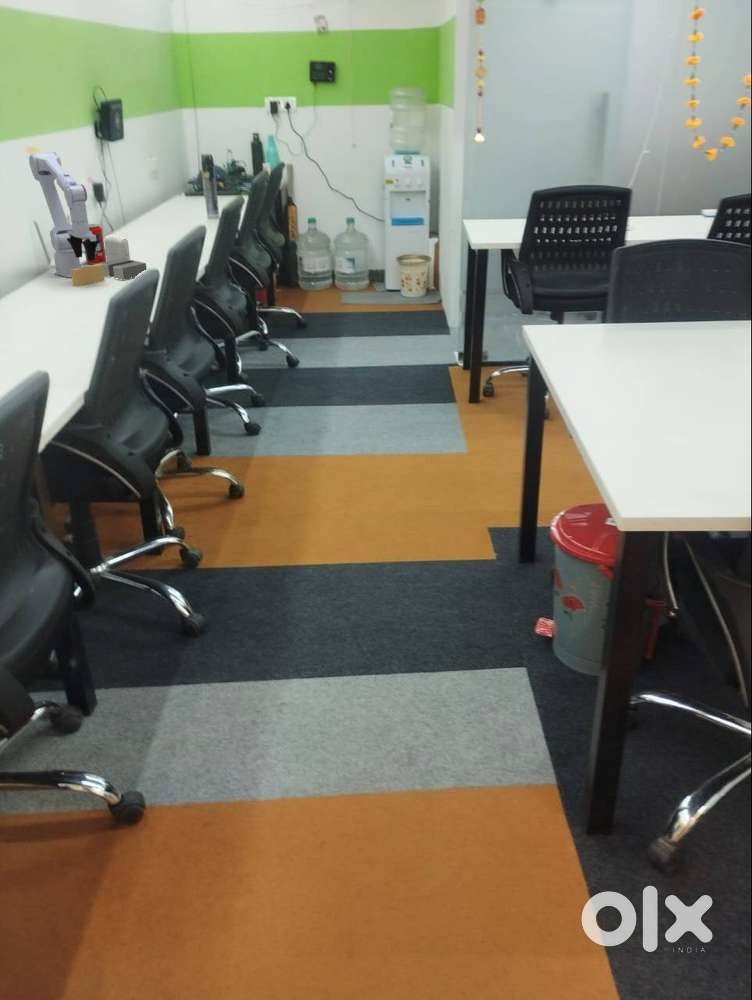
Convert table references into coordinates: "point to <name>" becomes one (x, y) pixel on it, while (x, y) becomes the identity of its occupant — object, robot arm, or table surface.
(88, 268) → the tan rectangular block
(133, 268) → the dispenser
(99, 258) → the soda can
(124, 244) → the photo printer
